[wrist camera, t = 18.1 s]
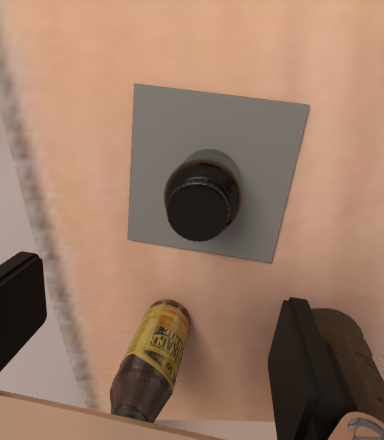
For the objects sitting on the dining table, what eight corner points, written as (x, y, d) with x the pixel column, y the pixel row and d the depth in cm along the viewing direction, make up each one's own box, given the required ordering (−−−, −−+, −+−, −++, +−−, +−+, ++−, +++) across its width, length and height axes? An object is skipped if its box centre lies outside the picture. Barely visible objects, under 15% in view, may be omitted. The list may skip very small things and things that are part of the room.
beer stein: (380, 355, 39) (505, 565, 20) (307, 386, 42) (357, 590, 24) (316, 266, 37) (389, 408, 18) (245, 306, 40) (245, 459, 22)
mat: (307, 104, 30) (309, 104, 29) (270, 260, 37) (271, 263, 36) (136, 84, 32) (134, 83, 31) (129, 236, 38) (127, 239, 37)
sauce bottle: (199, 323, 41) (170, 495, 23) (163, 339, 43) (110, 511, 25) (172, 287, 40) (120, 440, 21) (136, 306, 42) (59, 461, 23)
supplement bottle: (167, 170, 34) (134, 199, 22) (218, 135, 32) (210, 148, 20) (201, 218, 35) (186, 268, 24) (251, 188, 33) (261, 227, 22)
